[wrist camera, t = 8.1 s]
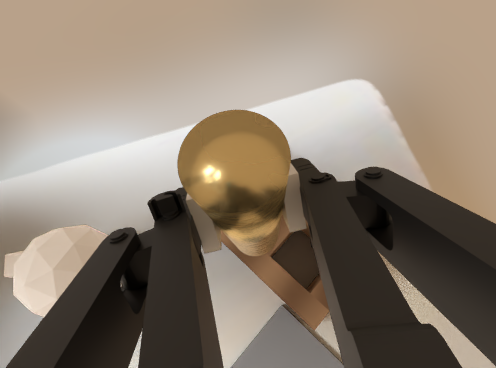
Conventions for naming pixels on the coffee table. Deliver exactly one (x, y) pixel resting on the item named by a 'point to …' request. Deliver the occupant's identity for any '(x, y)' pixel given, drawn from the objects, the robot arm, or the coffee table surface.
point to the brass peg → (238, 176)
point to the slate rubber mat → (286, 346)
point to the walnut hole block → (286, 280)
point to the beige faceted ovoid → (50, 265)
